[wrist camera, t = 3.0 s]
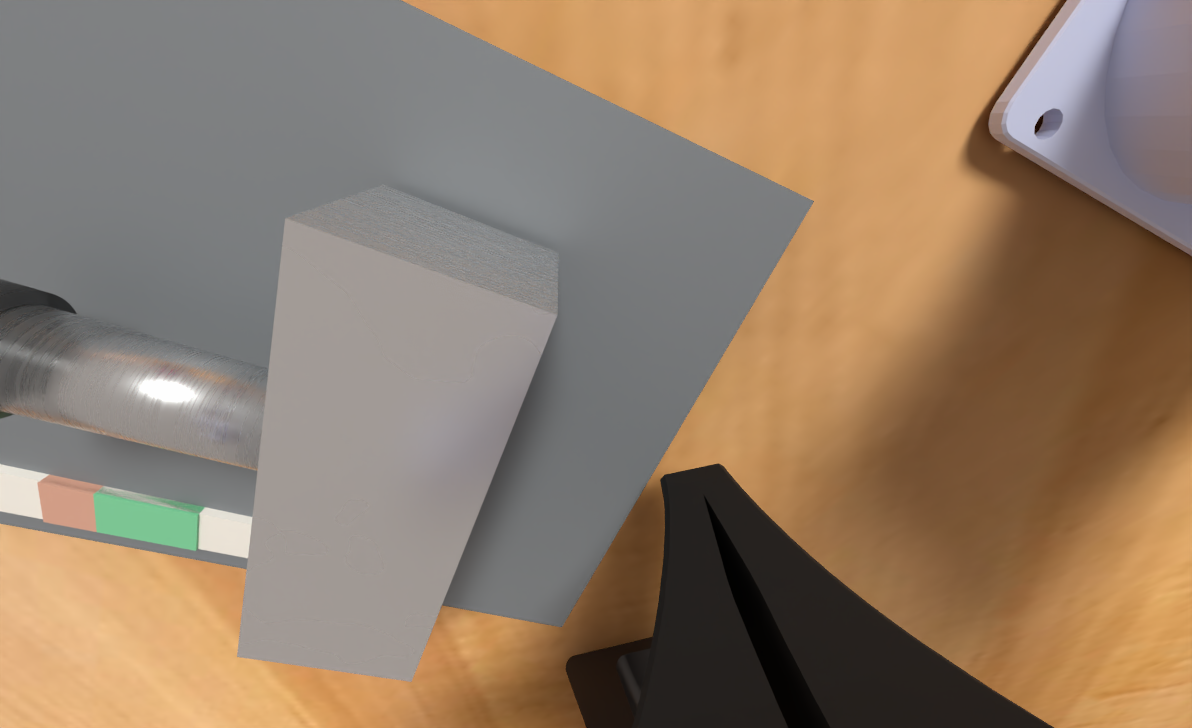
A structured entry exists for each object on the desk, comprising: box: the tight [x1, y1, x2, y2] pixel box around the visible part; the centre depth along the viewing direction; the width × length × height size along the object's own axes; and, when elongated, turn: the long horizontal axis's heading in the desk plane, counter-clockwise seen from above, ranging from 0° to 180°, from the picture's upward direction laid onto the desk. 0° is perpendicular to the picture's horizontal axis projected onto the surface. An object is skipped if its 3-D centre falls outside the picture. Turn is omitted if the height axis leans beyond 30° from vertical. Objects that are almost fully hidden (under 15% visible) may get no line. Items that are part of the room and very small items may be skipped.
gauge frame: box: [0, 0, 814, 627], centre depth 8 cm, size 21×13×4 cm, turn 67°
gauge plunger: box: [0, 185, 558, 682], centre depth 8 cm, size 8×10×3 cm
